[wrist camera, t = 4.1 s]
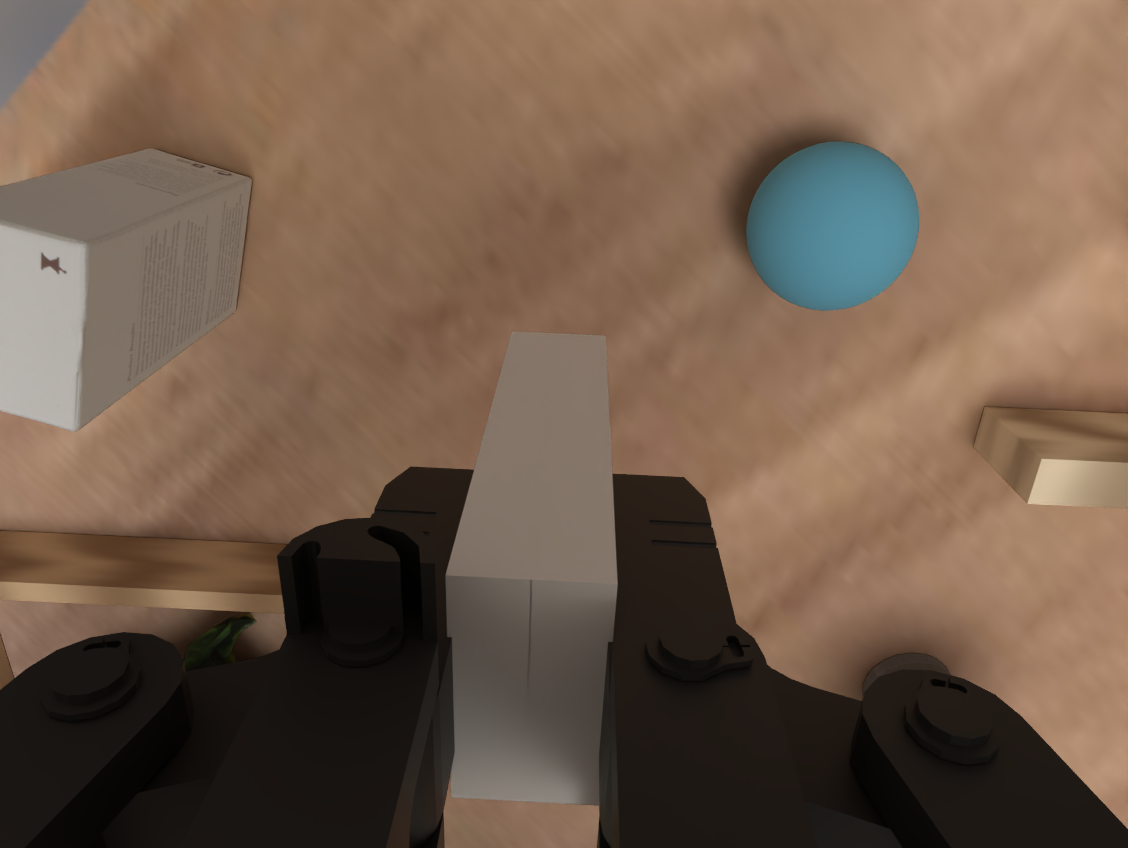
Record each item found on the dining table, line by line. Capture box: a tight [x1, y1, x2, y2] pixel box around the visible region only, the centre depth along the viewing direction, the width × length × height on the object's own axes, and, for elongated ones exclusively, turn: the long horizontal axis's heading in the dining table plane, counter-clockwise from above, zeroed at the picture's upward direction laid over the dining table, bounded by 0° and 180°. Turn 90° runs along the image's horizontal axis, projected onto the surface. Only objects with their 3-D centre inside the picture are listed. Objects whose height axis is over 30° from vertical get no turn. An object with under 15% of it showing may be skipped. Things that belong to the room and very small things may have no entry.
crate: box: [0, 530, 288, 690], centre depth 42 cm, size 21×20×4 cm
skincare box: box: [0, 148, 252, 431], centre depth 28 cm, size 6×4×12 cm
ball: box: [746, 141, 919, 310], centre depth 30 cm, size 6×6×6 cm
